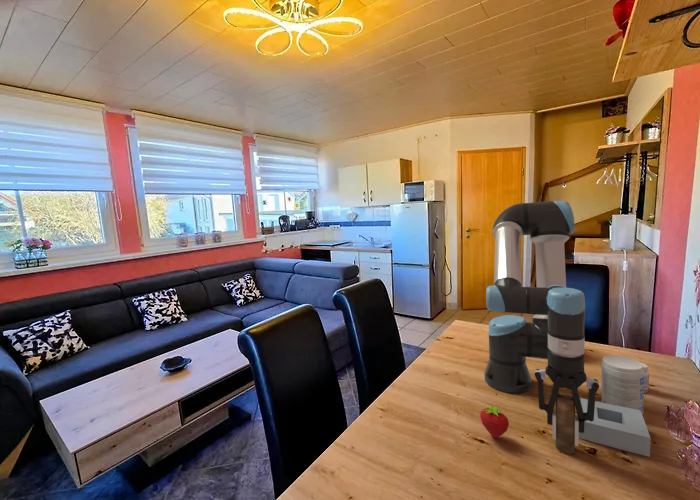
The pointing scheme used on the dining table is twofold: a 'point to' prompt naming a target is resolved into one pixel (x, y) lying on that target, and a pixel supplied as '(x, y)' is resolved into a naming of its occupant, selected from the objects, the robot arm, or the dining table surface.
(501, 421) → the strawberry
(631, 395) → the supplement tub
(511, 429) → the dining table surface
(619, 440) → the socket block
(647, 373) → the pill bottle
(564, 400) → the dowel
